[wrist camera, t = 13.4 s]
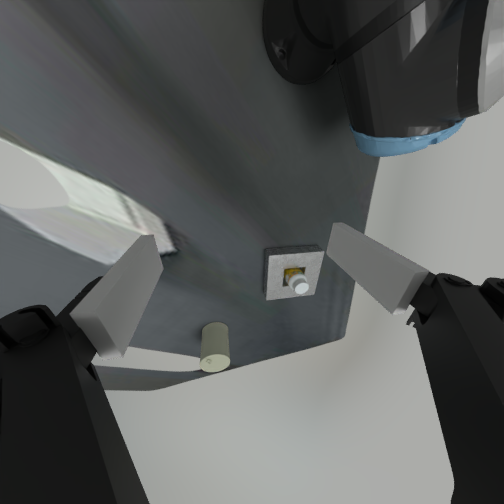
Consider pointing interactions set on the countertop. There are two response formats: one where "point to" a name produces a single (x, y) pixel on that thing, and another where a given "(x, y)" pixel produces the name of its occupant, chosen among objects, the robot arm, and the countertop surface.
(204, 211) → the countertop surface
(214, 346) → the can
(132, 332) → the robot arm
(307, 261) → the block with square hole
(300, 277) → the supplement bottle
